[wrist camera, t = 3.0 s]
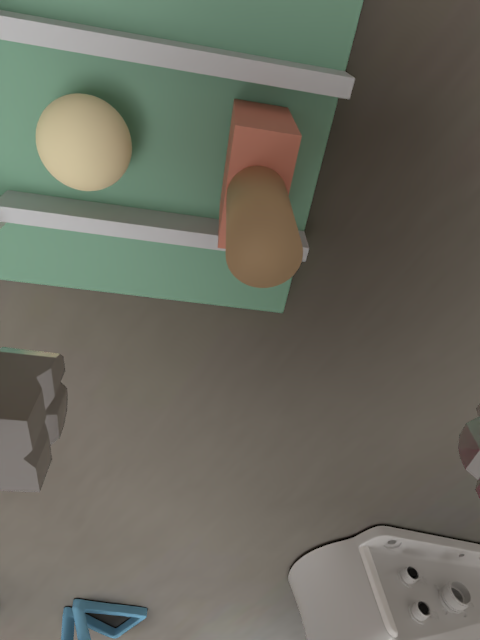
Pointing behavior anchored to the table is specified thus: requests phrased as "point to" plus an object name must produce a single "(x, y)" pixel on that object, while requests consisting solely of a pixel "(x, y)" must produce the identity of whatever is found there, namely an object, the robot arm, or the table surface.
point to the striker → (260, 195)
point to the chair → (87, 621)
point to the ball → (83, 142)
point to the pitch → (159, 133)
